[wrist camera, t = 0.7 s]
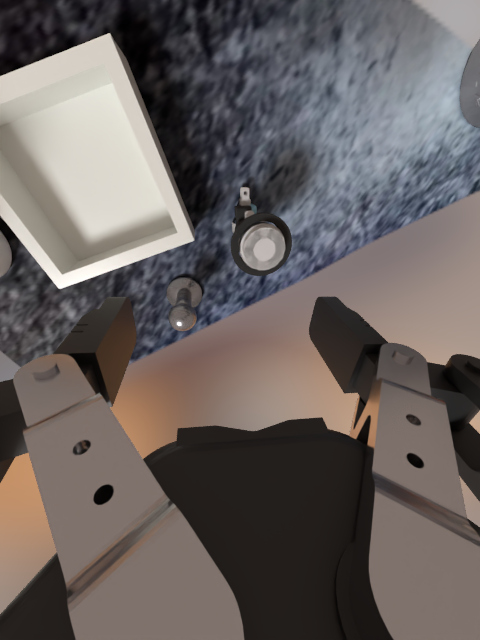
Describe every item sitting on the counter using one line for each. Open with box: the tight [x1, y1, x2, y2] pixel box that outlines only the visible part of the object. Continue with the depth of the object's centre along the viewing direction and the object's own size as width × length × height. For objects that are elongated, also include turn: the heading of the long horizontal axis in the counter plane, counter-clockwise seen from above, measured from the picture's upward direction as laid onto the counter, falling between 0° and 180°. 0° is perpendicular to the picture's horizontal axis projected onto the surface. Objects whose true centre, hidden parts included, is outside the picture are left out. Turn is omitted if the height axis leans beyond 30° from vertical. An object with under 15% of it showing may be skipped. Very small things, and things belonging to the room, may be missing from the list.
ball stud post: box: [167, 277, 202, 331], centre depth 29 cm, size 4×4×8 cm
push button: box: [231, 187, 292, 276], centre depth 24 cm, size 7×5×10 cm
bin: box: [0, 33, 195, 289], centre depth 23 cm, size 14×14×5 cm
